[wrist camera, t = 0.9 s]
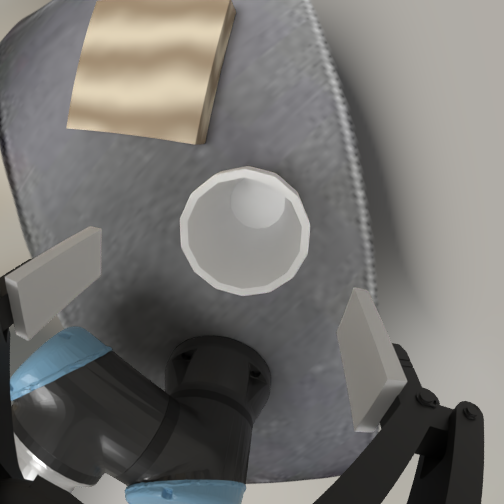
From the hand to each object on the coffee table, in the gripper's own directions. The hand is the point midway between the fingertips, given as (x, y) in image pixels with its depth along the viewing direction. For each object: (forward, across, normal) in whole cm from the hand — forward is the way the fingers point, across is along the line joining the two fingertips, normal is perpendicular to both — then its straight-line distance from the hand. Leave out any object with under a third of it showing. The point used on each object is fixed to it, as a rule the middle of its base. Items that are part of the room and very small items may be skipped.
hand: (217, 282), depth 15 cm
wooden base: (+21, +15, -13) cm, 29 cm away
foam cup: (+21, 0, 0) cm, 21 cm away
